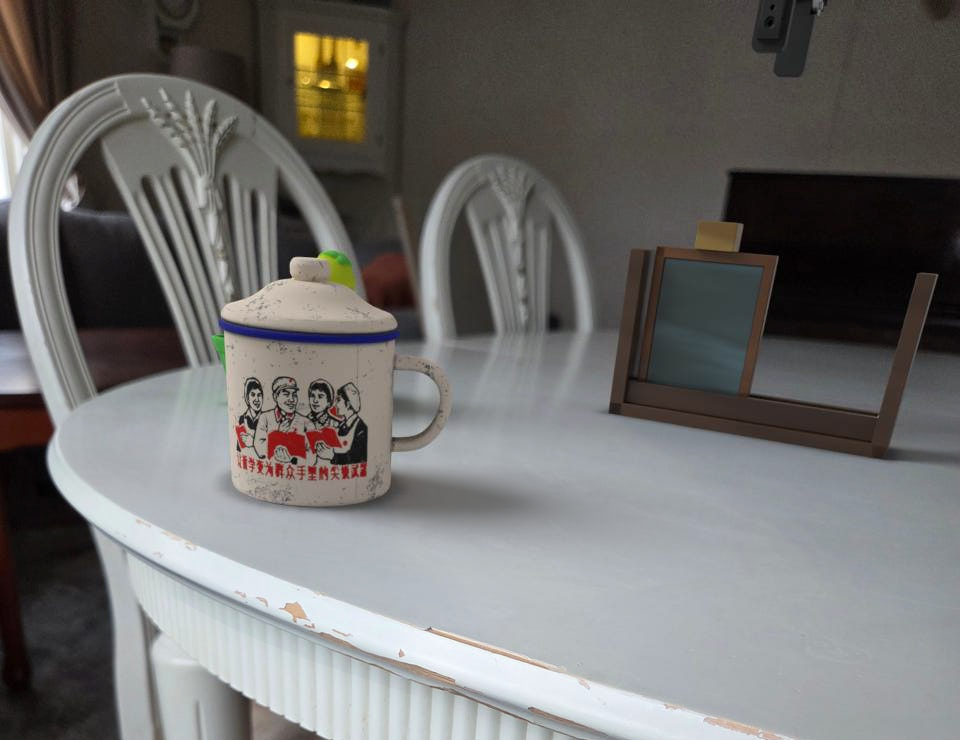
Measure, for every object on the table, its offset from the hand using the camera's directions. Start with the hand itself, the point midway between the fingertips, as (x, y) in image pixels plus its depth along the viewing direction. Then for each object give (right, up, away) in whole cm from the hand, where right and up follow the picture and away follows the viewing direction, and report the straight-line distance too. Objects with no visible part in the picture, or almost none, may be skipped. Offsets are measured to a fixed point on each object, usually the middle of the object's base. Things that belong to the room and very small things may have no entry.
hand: (778, 65), depth 61 cm
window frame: (0, -24, +10) cm, 26 cm away
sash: (-4, -21, +11) cm, 24 cm away
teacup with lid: (-29, -32, -13) cm, 45 cm away
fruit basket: (-35, -22, +7) cm, 42 cm away
